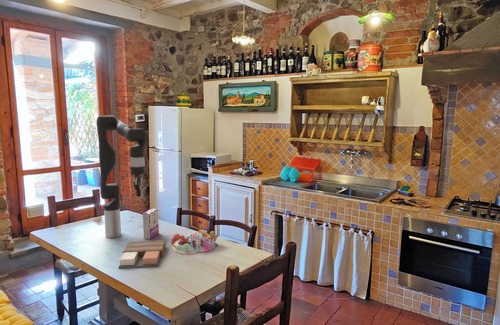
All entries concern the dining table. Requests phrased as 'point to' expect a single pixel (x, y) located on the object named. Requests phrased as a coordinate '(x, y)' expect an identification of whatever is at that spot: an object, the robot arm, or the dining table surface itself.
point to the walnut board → (145, 247)
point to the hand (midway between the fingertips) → (138, 196)
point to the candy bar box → (150, 223)
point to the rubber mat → (140, 264)
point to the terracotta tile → (151, 257)
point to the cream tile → (128, 258)
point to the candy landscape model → (194, 242)
